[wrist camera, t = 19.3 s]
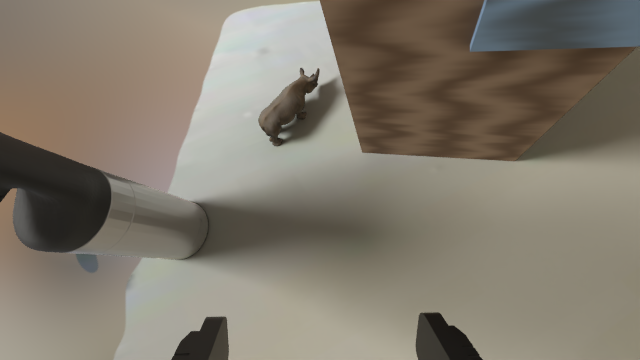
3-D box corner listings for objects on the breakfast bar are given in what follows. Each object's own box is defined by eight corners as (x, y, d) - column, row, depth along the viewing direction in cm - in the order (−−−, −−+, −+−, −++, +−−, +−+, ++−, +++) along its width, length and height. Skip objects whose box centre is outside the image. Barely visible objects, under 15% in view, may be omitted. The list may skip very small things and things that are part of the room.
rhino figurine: (333, 86, 49) (325, 62, 43) (280, 150, 48) (264, 134, 42) (315, 75, 50) (305, 50, 45) (263, 137, 49) (246, 120, 44)
